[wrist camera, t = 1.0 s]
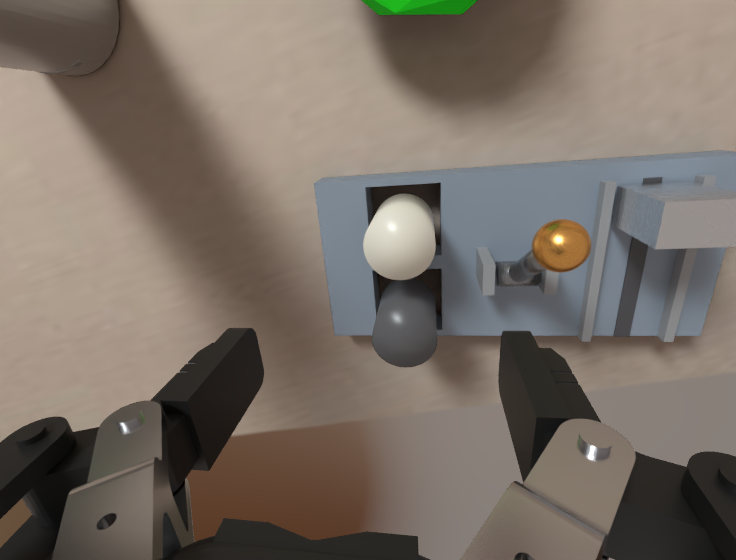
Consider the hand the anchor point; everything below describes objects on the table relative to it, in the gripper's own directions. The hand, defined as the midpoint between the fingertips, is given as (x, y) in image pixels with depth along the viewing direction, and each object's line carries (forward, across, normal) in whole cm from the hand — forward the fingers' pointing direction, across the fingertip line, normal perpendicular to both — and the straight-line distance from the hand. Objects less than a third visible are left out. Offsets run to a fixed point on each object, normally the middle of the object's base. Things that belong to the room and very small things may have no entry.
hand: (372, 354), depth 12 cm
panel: (+18, -7, +3) cm, 20 cm away
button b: (+15, 0, +6) cm, 16 cm away
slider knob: (+15, -15, -1) cm, 22 cm away
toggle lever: (+13, -7, +3) cm, 15 cm away
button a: (+15, 0, 0) cm, 15 cm away
